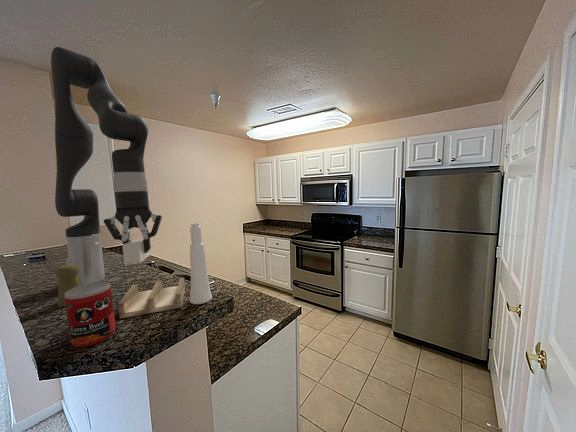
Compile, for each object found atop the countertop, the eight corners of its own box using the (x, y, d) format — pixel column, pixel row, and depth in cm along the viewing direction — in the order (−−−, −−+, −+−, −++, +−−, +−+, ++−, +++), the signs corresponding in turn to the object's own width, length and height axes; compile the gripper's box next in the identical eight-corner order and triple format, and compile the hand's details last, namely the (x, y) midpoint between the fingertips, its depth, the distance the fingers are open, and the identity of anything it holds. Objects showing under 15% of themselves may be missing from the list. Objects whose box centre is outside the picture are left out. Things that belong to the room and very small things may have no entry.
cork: (83, 295, 76) (79, 261, 75) (86, 301, 72) (81, 264, 71) (57, 302, 72) (52, 265, 71) (58, 308, 68) (52, 269, 67)
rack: (119, 318, 61) (118, 304, 60) (133, 296, 74) (132, 284, 74) (182, 307, 66) (180, 294, 65) (185, 288, 79) (184, 277, 78)
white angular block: (124, 264, 61) (122, 244, 60) (136, 256, 72) (134, 239, 72) (140, 262, 62) (138, 243, 62) (149, 255, 73) (148, 238, 73)
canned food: (64, 352, 48) (56, 299, 47) (79, 332, 55) (73, 285, 54) (110, 341, 51) (104, 291, 50) (119, 323, 58) (114, 279, 57)
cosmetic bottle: (201, 293, 74) (196, 221, 72) (216, 297, 71) (211, 222, 69) (185, 302, 69) (178, 224, 67) (200, 306, 66) (193, 225, 64)
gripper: (162, 189, 71) (168, 247, 73) (105, 191, 67) (112, 253, 68) (158, 188, 64) (164, 253, 66) (93, 191, 60) (102, 260, 61)
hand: (137, 252), depth 67 cm, fingers closed on white angular block, 3 cm apart
